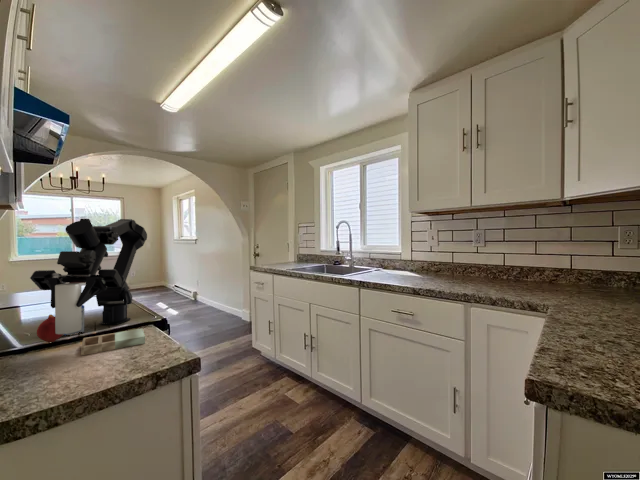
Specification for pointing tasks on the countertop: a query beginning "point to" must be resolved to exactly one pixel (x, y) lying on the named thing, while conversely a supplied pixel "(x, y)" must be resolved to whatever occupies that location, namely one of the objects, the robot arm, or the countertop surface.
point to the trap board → (112, 341)
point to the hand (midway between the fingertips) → (65, 306)
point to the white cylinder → (67, 308)
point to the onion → (48, 330)
